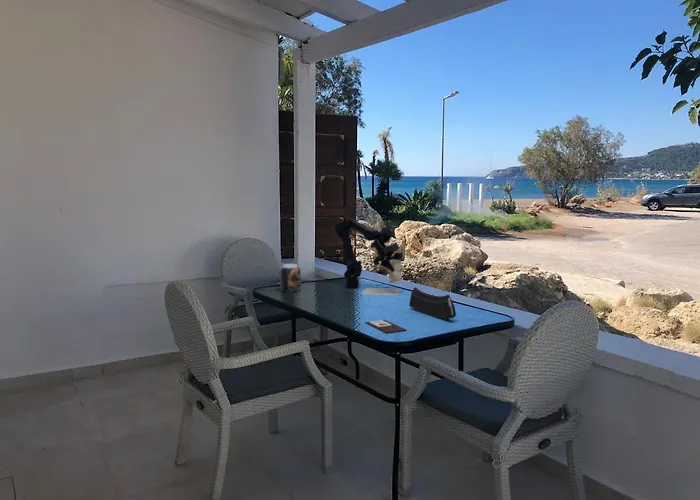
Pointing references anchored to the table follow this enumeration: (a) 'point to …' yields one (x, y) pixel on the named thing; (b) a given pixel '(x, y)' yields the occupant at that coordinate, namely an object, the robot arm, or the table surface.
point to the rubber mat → (382, 291)
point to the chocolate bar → (386, 326)
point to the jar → (290, 277)
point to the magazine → (432, 304)
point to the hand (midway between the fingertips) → (396, 270)
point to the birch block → (395, 271)
